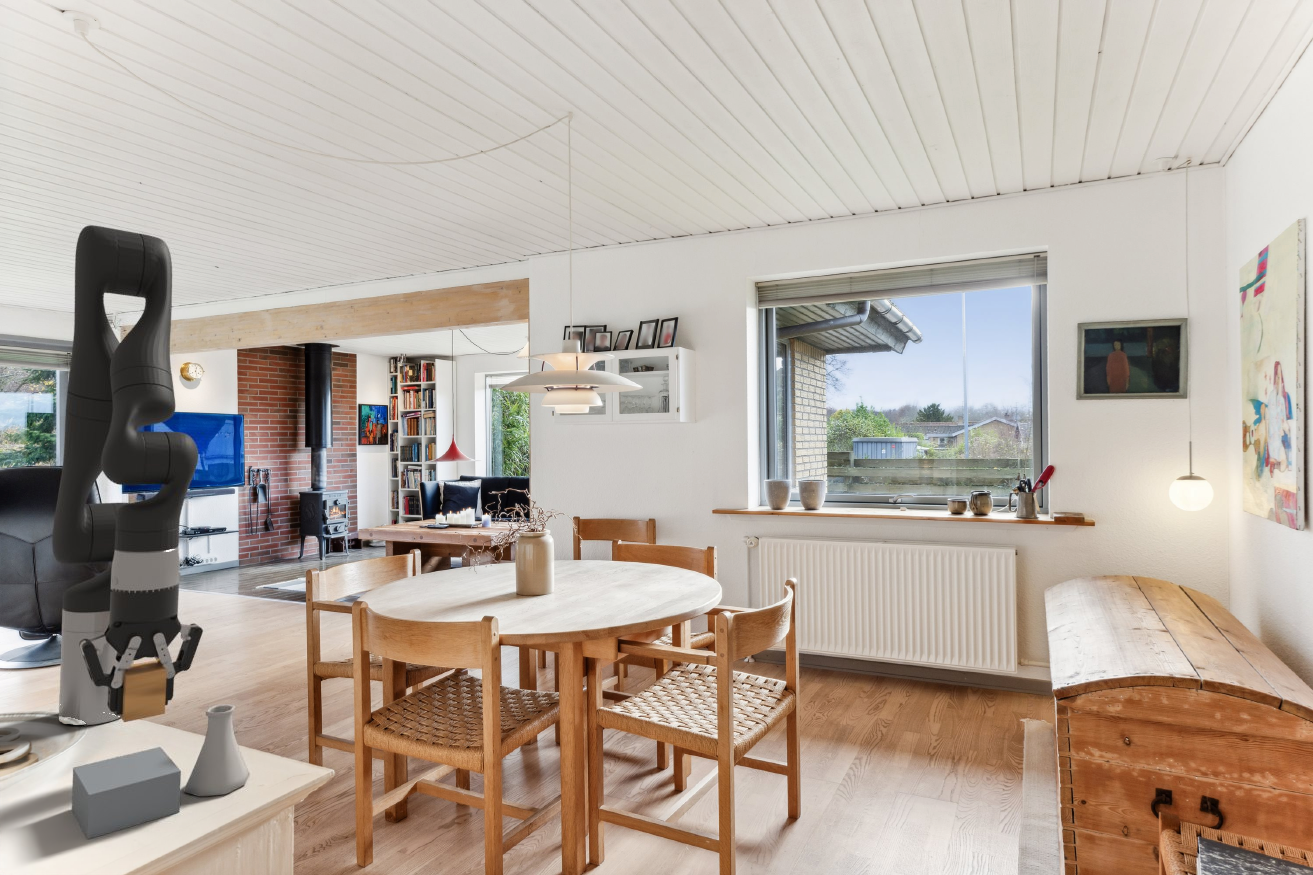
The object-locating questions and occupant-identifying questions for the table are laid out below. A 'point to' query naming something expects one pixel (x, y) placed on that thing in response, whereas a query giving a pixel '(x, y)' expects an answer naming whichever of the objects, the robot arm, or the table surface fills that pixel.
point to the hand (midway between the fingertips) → (140, 707)
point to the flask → (218, 757)
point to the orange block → (144, 691)
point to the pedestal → (125, 791)
